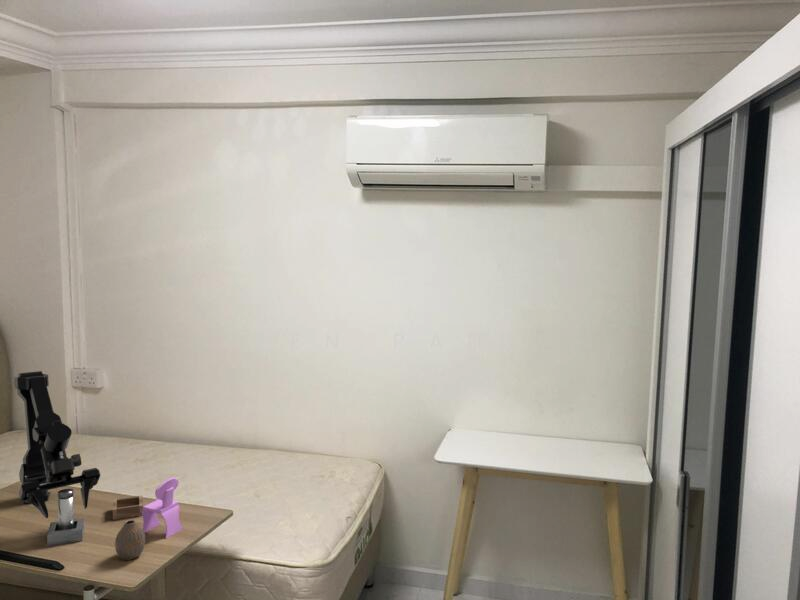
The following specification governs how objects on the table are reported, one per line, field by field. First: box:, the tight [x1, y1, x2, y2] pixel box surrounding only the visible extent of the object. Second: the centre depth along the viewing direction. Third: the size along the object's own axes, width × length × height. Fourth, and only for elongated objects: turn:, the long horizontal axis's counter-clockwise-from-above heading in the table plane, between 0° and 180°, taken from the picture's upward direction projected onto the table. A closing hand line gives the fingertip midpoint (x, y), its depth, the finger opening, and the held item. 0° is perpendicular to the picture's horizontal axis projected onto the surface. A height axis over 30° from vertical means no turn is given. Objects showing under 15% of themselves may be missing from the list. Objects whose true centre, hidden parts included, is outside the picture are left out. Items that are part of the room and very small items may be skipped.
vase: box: [114, 519, 146, 561], centre depth 149 cm, size 7×7×9 cm
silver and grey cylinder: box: [57, 488, 75, 531], centre depth 159 cm, size 4×4×12 cm
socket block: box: [46, 517, 85, 547], centre depth 159 cm, size 8×8×3 cm
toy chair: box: [142, 477, 184, 539], centre depth 164 cm, size 8×9×15 cm
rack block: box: [112, 495, 144, 521], centre depth 175 cm, size 8×8×3 cm
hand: (67, 512), depth 158 cm, fingers open, 9 cm apart
